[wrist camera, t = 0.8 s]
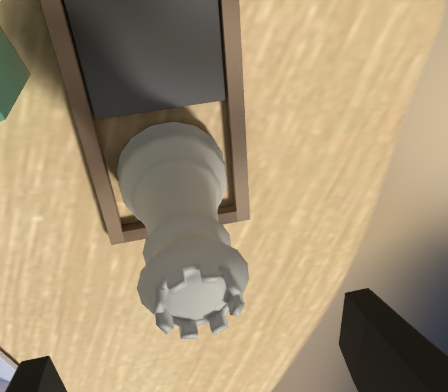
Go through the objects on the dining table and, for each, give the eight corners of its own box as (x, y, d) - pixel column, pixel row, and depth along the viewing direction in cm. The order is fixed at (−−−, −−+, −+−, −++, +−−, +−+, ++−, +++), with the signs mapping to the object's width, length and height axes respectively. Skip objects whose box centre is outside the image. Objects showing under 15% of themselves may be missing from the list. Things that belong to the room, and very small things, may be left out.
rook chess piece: (195, 219, 20) (232, 369, 13) (101, 192, 18) (91, 349, 12) (240, 139, 18) (308, 267, 12) (140, 99, 16) (154, 224, 10)
